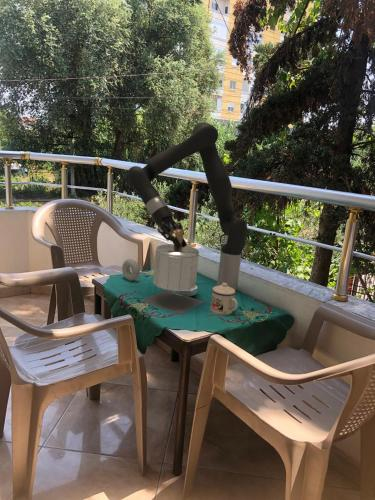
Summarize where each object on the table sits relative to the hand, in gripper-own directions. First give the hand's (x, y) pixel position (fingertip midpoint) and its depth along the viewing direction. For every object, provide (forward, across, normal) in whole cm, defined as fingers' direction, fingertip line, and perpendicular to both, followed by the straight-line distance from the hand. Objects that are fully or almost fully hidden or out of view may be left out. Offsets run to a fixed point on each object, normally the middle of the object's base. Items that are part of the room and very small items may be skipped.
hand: (182, 246), depth 157 cm
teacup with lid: (+30, +6, +4) cm, 30 cm away
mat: (+15, 0, +18) cm, 24 cm away
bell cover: (+9, 0, +12) cm, 16 cm away
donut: (-5, +8, +39) cm, 40 cm away
